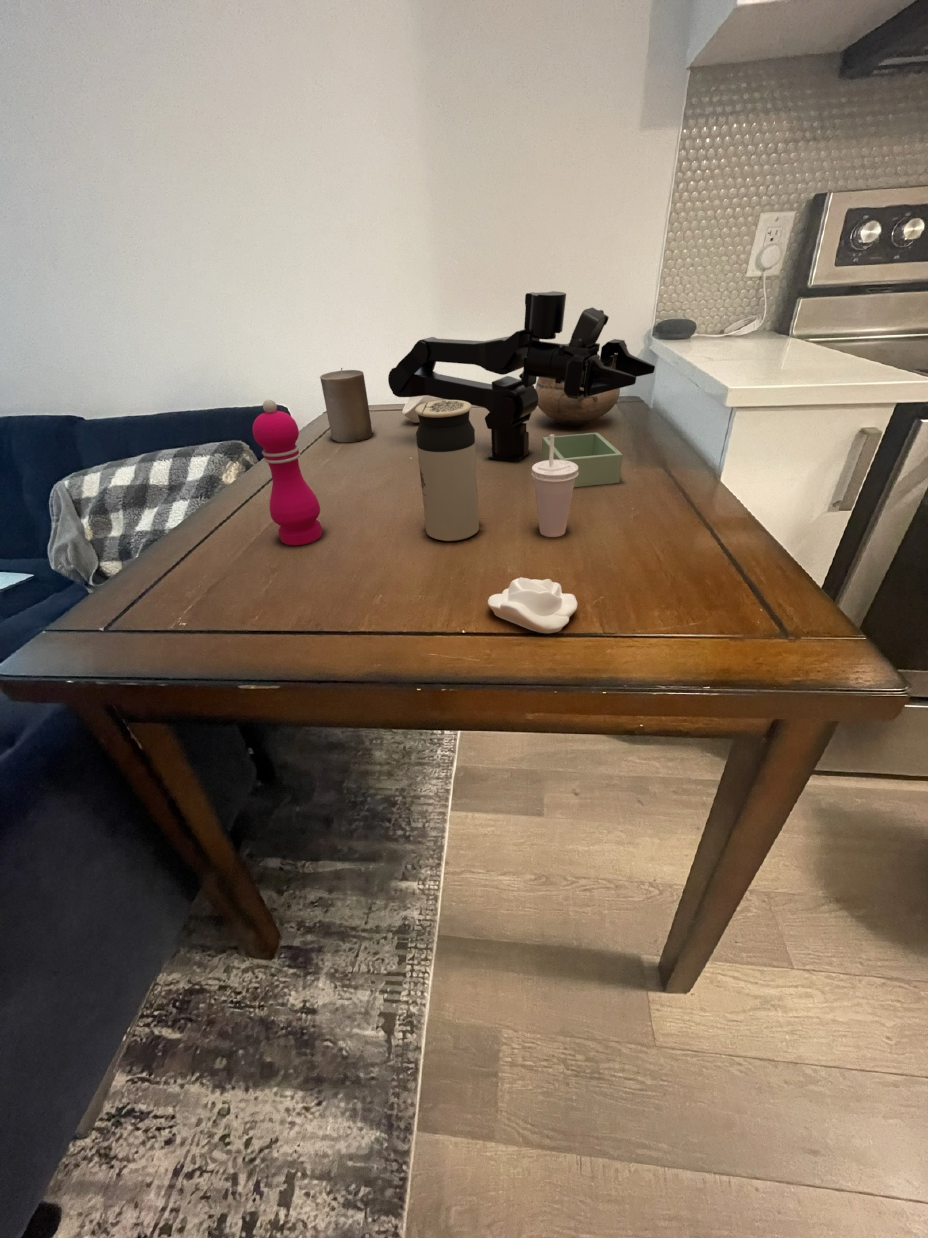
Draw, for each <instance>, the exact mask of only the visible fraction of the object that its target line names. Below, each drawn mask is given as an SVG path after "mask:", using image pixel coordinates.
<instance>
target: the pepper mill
mask: <svg viewBox="0 0 928 1238" xmlns="http://www.w3.org/2000/svg"><path fill="white" fill-rule="evenodd" d="M262 408H263V411H264V412H262V413H260V414H259V415H258V416H257V417H256V418H255V420H254V421H253V423H252V434H253V438H254V441H255V442H256V444H258V445H259V446H260V447H262V448H263V449H262V451H261V454H262V455H263V462H265V463H267V465H268V467H269V469H270V473H271V478H272V484H271V485H272V486H271V492H270V496H269V497H270V498H269V508H268V509H269V513H270V518H271V520H272V521H273V522H274V523H275V524H277V525H278V526H279V527H278V534H279V538H280V541H281V542H282V543H283V544H285V545H287V546H303V545H307V544H311V543H314V542H316V541H317V540H319V539H320V538H321V537H322V535H323V530H322V525H321V522H320V521H319V520H318V518H319V516H320V513H321V506H320V502H319V500H318V498H317V496H316V494H315V492H314V491H313V490H312V489H311V487H310V486H309V485H308V483H307V482H306V480H305V478H304V477H303V474H302V472H301V469H300V463H299V462H300V461H299V458H300V457H301V453H300V450H299V449H300V447H299V445H298V444H296V443H297V441H298V439H299V435H300V430H299V427H298V424H297V422H296V420H295V418H294V417H293V416H292V415H290V414H289V413H287V412H285V411H281V410H277V409H278V405H277V403H276V402H275V400H273V399H270V398H269V399H265V400H264V401H263V403H262Z"/></svg>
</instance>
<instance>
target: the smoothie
mask: <svg viewBox="0 0 928 1238" xmlns="http://www.w3.org/2000/svg"><path fill="white" fill-rule="evenodd" d="M554 436H555V434H552V433H551V434H550V435H549V437H550V451H549V460H546V461H542V460H541V461H538V462H536V463H535V464H533V465H532V466H531V476H532V477H533V481H534V491H535V500H536V509H537V518H538V519H537V520H538V526H539V527H538V528H539V533H540V534H541V536H544V537H548V538H557V537H561V536H564V535H565V534H566V531H567V524H568V520H569V514H570V508H571V502H572V499H573V498H572V497H573V492H574V488H575V487H574V482H575V478H576V477H577V476H578V474H579V473H578V466H577V465H576V464H575V463H573V462H570V461H566V460H553V455H554Z"/></svg>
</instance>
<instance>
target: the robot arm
mask: <svg viewBox="0 0 928 1238" xmlns="http://www.w3.org/2000/svg"><path fill="white" fill-rule="evenodd" d="M566 300H567V293H566V292H564V291H554V290H553V291H552V290H551V291H547V292H546V291H545V292H534V291H533V292H527V293H525V296H524V306H525V309H524V311H525V312H524V325H523V329H519V330H516V331H515V332H514V333H512V335H509V336H503V337H497V338H492V339H488V340H487V339H486V340H473V339H471V340H470V339H455V338H454V339H453V338H451V339H450V338H437V337H435V336H430V337H426V338H422V339H419V340H418V341H416V343H415V344H414V346H413V347H412V348H411V350H410V351H409V352H408V353H407V354H406V355H405V356H404V357H403V358H402V359H401V360H400V361H399V362H398V363H397V365H396V366H395V367H393V368H390V371H389V373H388V376H387V380H388V387H389V389H390V391H391V393H392V394H393V395H394V396H395V397H397V398H410V397H417V396H425V395H428V396H433V397H437V398H442V399H447V400H461V401H466V402H468V403H470V404H471V406H475V407H480V408H484V409H485V410H487V411H488V413H487V414H486V415H485V416H484V421H485V424H486V427H487V429H489V430H490V434H491V435H490V437H491V453H490V454H489V455H488V456H487V457H488V460H489V459H490V460H497V461H508V462H517V463H518V462H520V461H521V460H522V459H524V457H526V456H527V455H528V454H529V453H530V449H529V448H530V447H529V446H530V445H529V444H530V433H529V431H527V423H526V422H528V421H529V420H530V419H531V416H532V414H533V412H534V411H535V410H536V409H537V407H538V394H537V391H536V390H535V386H534V385H536V384H537V380H538V378H539V377H541V378H548V379H554V380H555V383H558V384H561V383H563V382H564V392H565V394H566V395H567V397H568V398H573V399H580V398H582V397H584V398H586V397H588V396H592V395H596V394H599V393H603V392H607V391H611V390H614V389H618V388H620V389H622V388H626V387H630V386H633V385H636V383H637V378H638V377H644V376H646V375H651V374H653V373H655V370H656V366H655V365H654V364H652V363H650V362H647V361H646V360H643V359H642V358H639V357H637V356H635V355H633V354H631V353H630V351H629V350H628V345H627V343H626V341H625V339H617V338H613V339H611V340H609V341H607V342H606V343H604V344H603V345H601V343H598V341H599V338H600V335H601V333H602V331H603V330H604V327H605V326H606V325H607V323H608V321H609V315H607V314H605V312H604V310H603V309H600V310H599V309H596V308H595V307H589V308H586V309H583V311H582V312H581V314H580V315H579V317H578V320H577V323H576V325H575V327H574V329H573V332H572V334H571V337H570V340H569V342H568V343H559V342H558V343H557V342H551V341H544V340H555V339H556V337H557V334H561V333H562V332H563V330H564V329H563V328H564V318H565V311H566V310H565V309H566V302H567V301H566ZM600 346H601V347H600ZM599 351H600V354H598V353H599ZM436 363H449V364H460V365H475V366H477V367H480V368H482V369H484V371H487V372H490V373H494V374H496V375H497V374H498V375H501V376H503V375H506V376H503V377H500V378H498V379H496V380H493V381H491V383H487V382H482V381H477V380H473V379H472V380H471V379H466V378H461V377H456V376H451V375H446V374H442V373H441V374H442V375H441V374H437V373H435V371H434V370H435V367H436V365H437V364H436ZM521 369H523V370H522V372H521V373H520V374H519V375H518V378H516V377H513V376H510V375H508V374H510V373H513V372H515V371H518V370H521ZM580 387H582V388H584V391H583V390H580Z"/></svg>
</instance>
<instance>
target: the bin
mask: <svg viewBox="0 0 928 1238" xmlns="http://www.w3.org/2000/svg"><path fill="white" fill-rule="evenodd" d="M549 451H550V436H542V439H541V461H546V460H549ZM553 460H566V461H570V462H573V463H575V464H576V465H577V466H578V473H579V474H578V476H577V477H576V478H575V482H574V488H581V487H590V486H602V485H613V484H620V482H621V473H622V462H623V453H621V452H620V451H619V449H617V448H616V447H615V446H614V445H613V444H612V443H610V442H609V441H608V440H607V439H605V437H603V436H602V435H601V434H600V433H599V432H597V431H596V432H587V433H575V434H564V435H554V455H553Z"/></svg>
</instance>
